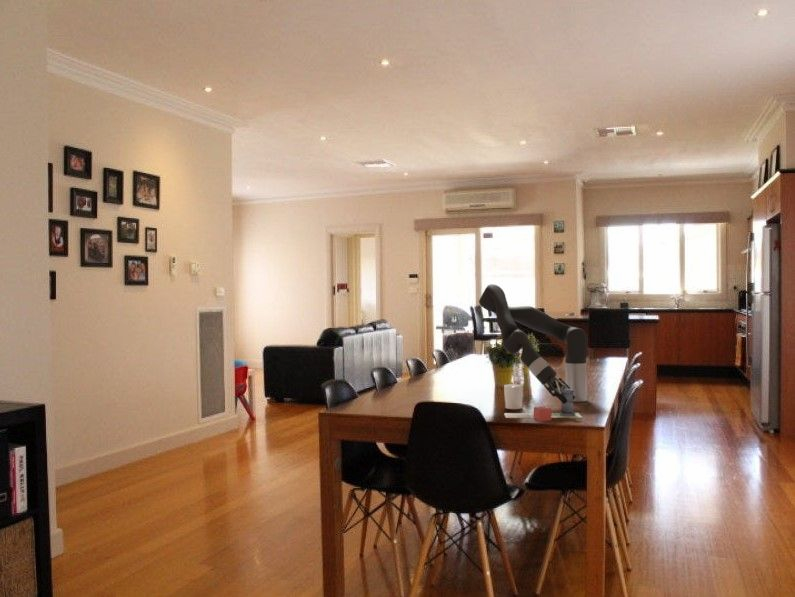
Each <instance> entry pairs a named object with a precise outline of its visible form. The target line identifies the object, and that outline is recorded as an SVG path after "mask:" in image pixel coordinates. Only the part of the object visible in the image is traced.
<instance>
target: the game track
mask: <svg viewBox="0 0 795 597" xmlns="http://www.w3.org/2000/svg"><path fill="white" fill-rule="evenodd" d="M574 413H575V416H561V415H560V412H551V419H552V418H554V419H556V418H557V419H559V418H560V419H561V418H563V419H565V418H569V419H583V416H582V415H581V414H580V413H579V412H574ZM503 415H504V418H505V419H507V418H508V419H527V418H528V419H530V418H531V419H534V412H505V413H504V414H503Z"/></svg>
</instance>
